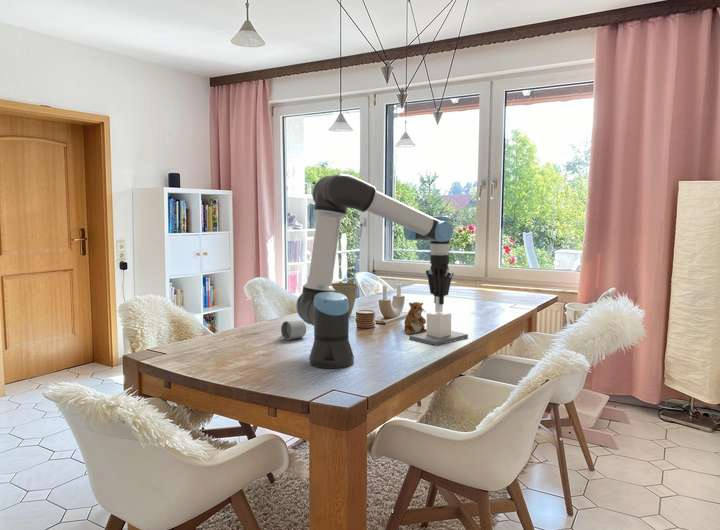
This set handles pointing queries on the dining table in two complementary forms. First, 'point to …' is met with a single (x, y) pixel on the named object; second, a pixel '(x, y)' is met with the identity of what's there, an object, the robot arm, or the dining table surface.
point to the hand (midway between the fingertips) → (438, 312)
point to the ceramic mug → (293, 329)
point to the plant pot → (347, 292)
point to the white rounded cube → (438, 324)
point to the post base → (437, 338)
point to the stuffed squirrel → (415, 319)
